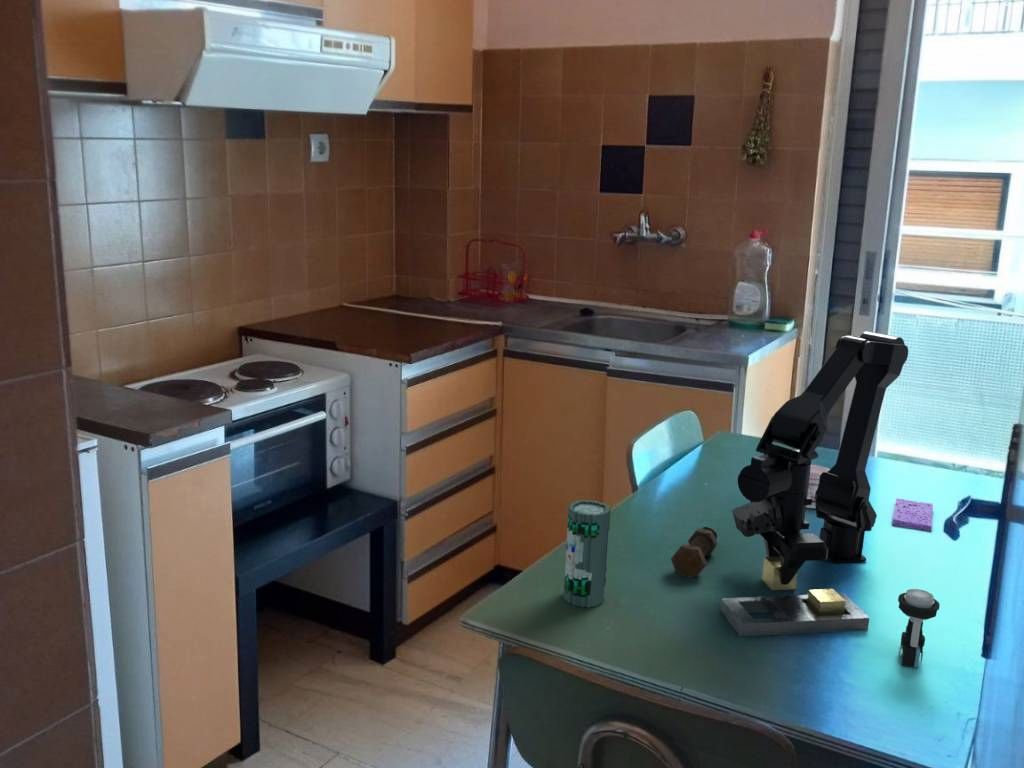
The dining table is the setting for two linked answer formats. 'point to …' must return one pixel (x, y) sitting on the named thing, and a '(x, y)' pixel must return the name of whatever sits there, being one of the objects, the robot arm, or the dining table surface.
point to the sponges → (913, 514)
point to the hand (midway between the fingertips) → (779, 578)
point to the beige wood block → (775, 574)
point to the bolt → (695, 552)
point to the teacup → (814, 481)
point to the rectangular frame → (789, 616)
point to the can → (586, 553)
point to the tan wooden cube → (825, 602)
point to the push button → (915, 623)
